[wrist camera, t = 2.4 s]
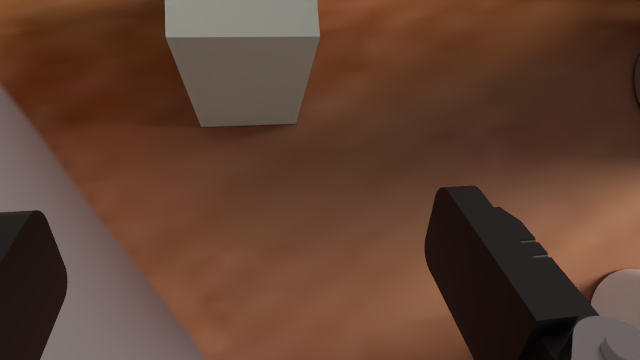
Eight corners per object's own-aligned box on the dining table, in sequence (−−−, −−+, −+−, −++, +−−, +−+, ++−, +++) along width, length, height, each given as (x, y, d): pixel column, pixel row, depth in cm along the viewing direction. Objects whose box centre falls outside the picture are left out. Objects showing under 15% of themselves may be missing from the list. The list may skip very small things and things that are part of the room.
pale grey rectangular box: (196, -8, 26) (161, -167, 17) (286, -7, 27) (302, -158, 18) (201, 126, 25) (165, 37, 15) (296, 123, 26) (320, 36, 16)
